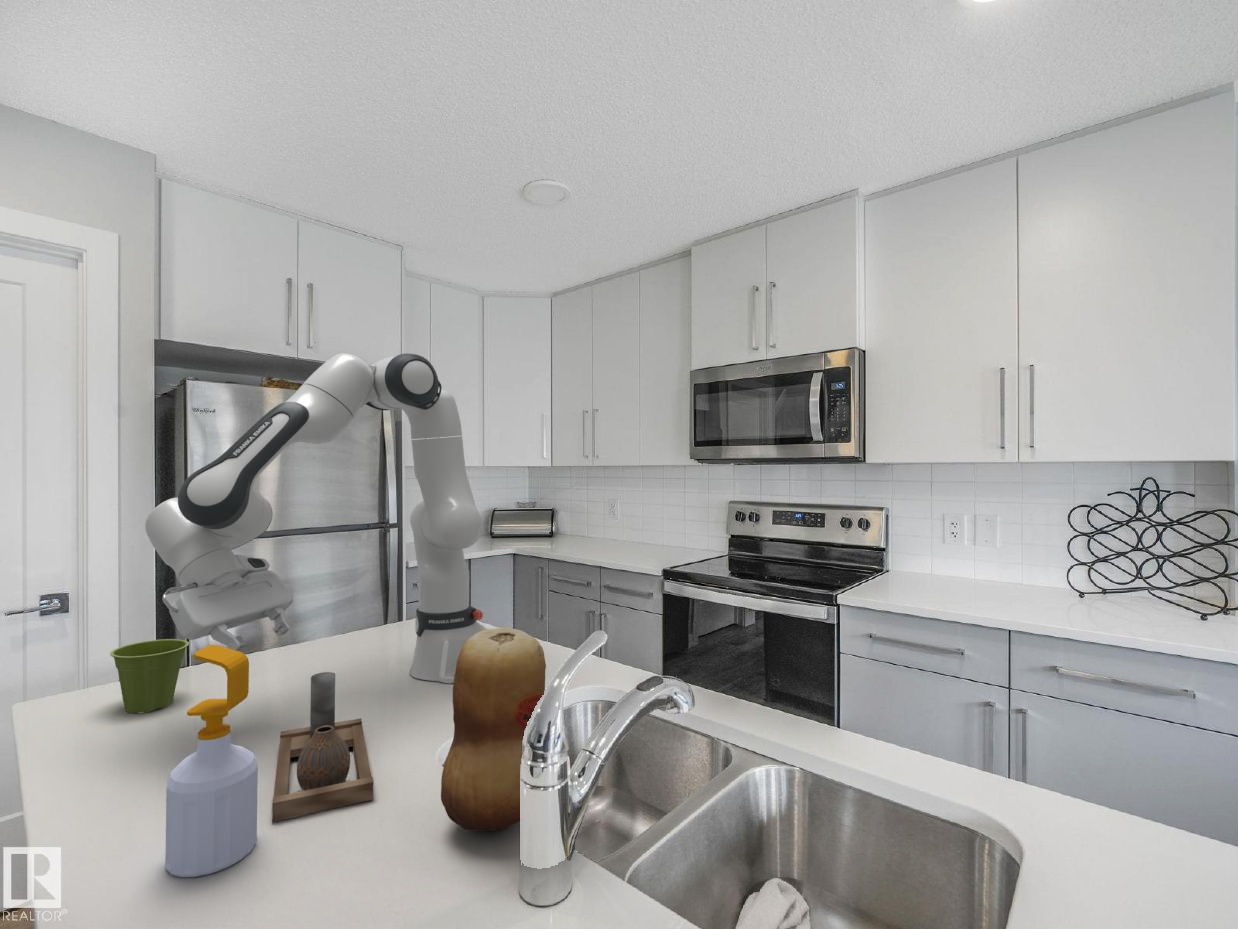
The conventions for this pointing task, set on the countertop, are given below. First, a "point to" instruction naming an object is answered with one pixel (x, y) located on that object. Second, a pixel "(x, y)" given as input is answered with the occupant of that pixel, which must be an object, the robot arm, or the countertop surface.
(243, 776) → the soap bottle
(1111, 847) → the countertop surface
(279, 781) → the strip frame
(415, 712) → the countertop surface
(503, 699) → the butternut squash
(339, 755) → the vase
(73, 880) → the countertop surface
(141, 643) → the plant pot
